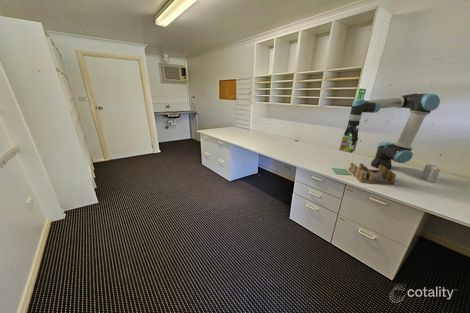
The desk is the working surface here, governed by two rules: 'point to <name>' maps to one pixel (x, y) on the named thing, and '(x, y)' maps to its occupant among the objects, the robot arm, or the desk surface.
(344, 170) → the cutting mat
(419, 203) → the desk surface
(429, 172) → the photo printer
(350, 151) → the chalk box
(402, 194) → the desk surface
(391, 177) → the rack
